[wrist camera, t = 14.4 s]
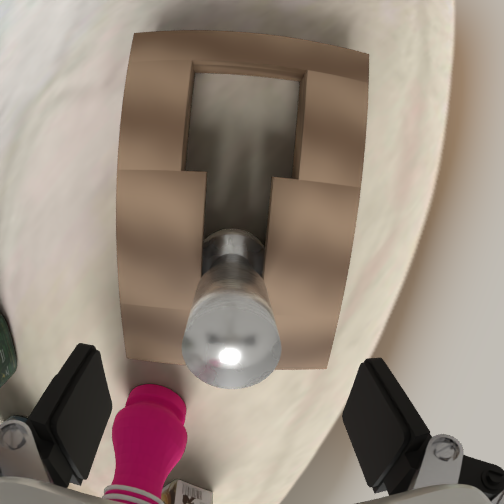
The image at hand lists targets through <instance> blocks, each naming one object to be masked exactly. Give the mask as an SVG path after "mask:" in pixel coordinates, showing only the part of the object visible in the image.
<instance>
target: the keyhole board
mask: <svg viewBox="0 0 504 504" xmlns="http://www.w3.org/2000/svg"><path fill="white" fill-rule="evenodd" d="M195 73H220V74H236V75H249V76H260V77H269V78H278V79H285V80H293V81H299V82H300V86H299V100H298V112H297V125H296V136H295V148H294V159H293V169H292V179H291V178H282V177H272V179H271V190H270V201H269V211H268V222H267V232H266V242H265V252H264V262H263V272H262V279H263V281H264V283H265V285H266V288H267V292H268V296H269V299H270V303H271V307H272V311H273V315H274V318H275V322H276V326H277V330H278V334H279V337H280V341H281V356H280V360H279V362H278V364H277V366H276V368H275V369H274V370H299V369H326V368H327V365H328V361H329V357H330V353H331V349H332V345H333V341H334V336H335V332H336V328H337V323H338V319H339V314H340V310H341V305H342V300H343V295H344V290H345V285H346V280H347V275H348V269H349V264H350V258H351V252H352V246H353V240H354V233H355V227H356V220H357V213H358V205H359V198H360V189H361V181H362V172H363V162H364V151H365V139H366V125H367V109H368V85H369V54H366V53H362V52H359V51H355V50H351V49H347V48H343V47H338V46H334V45H329V44H324V43H319V42H314V41H309V40H303V39H297V38H291V37H284V36H276V35H268V34H259V33H248V32H234V31H211V30H179V31H156V32H143V33H134V36H133V41H132V46H131V52H130V57H129V63H128V69H127V75H126V82H125V89H124V97H123V105H122V114H121V124H120V135H119V148H118V164H117V190H116V239H117V266H118V282H119V295H120V307H121V317H122V326H123V335H124V342H125V350H126V357H127V358H128V359H136V360H143V361H151V362H160V363H169V364H179V365H186V363H185V361H184V358H183V355H182V341H183V337H184V333H185V329H186V325H187V322H188V318H189V314H190V310H191V307H192V303H193V299H194V296H195V292H196V288H197V285H198V283H199V281H200V279H201V277H202V261H203V238H204V218H205V201H206V186H207V172H203V171H186V158H187V146H188V134H189V123H190V113H191V103H192V94H193V85H194V77H195Z"/></svg>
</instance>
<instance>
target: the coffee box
mask: <svg viewBox="0 0 504 504" xmlns="http://www.w3.org/2000/svg"><path fill="white" fill-rule="evenodd" d="M161 500H162V501H163V503H164V504H213V492H211V491H208V490H205V489H202V488H199V487H197V486H194V485H191V484H189V483H186V482H184V481H181V480H179V479H176V480H174V481H173V482H171V483H170V484H168V485H167V486H165V487H163V489H162V493H161Z"/></svg>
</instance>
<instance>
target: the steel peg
mask: <svg viewBox="0 0 504 504" xmlns="http://www.w3.org/2000/svg"><path fill="white" fill-rule="evenodd" d="M264 252H265V247H264V245H263V244H262V242H261V241H260V240H259V239H258V238H257V237H255V236H254V235H253V234H251V233H249V232H247V231H244V230H241V229H223V230H219V231H217V232H214V233H213V234H211V235H209V236H208V237H207V238H206V239H205V240H204V241H203V261H202V277H201V279H200V281H199V283H198V285H197V288H196V292H195V296H194V299H193V303H192V307H191V310H190V314H189V318H188V322H187V325H186V329H185V333H184V337H183V341H182V355H183V358H184V361H185V363H186V365H187V367H188V368H189V370H190V371H191V372H192V373H193V374H194V375H195V376H196V377H197V378H199V379H200V380H202V381H203V382H205V383H207V384H210V385H212V386H215V387H219V388H225V389H239V388H245V387H249V386H252V385H255V384H257V383H259V382H261V381H262V380H264V379H265V378H266V377H268V376H269V375H270V374H271V373H272V372H273V370H274V369H275V368H276V366H277V364H278V362H279V360H280V356H281V341H280V337H279V334H278V330H277V326H276V322H275V318H274V315H273V311H272V307H271V303H270V299H269V296H268V292H267V288H266V285H265V283H264V281H263V279H262V272H263V262H264Z"/></svg>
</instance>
